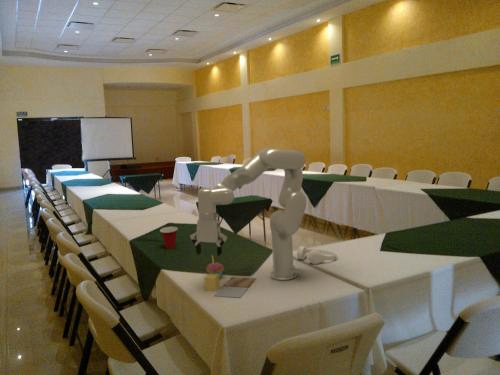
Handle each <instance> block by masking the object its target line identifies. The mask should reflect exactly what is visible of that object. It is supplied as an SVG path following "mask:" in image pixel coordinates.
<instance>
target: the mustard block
mask: <svg viewBox="0 0 500 375" xmlns="http://www.w3.org/2000/svg"><path fill="white" fill-rule="evenodd" d="M203 280H204V291H208V292H216V291H218V290H219V288H220V278H219V274H209V273H208V274H206V275H205V276H204V277H203Z"/></svg>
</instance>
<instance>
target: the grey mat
mask: <svg viewBox="0 0 500 375" xmlns="http://www.w3.org/2000/svg"><path fill="white" fill-rule="evenodd" d="M248 290H249V288H246V287H232V286H224V285H222V287H221V288H220V289H218V290H217V292H216V293H215V294H214V295H213V297H217V298H218V297H220V298H231V297H233V299H241V298H242V297H243V296H244V294H245V293H246V292H247V291H248Z"/></svg>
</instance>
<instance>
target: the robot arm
mask: <svg viewBox="0 0 500 375" xmlns="http://www.w3.org/2000/svg"><path fill="white" fill-rule="evenodd" d="M305 164H306V156H305V154H304V153H303V152H302V151H300V150H297V149H296V150H295V149H280V148H279V149H278V148H268V147H267V148H261V149H260V150H259V151H258V152H257V153H255V155H253V156H252V157H251V158H250V159H249V160H248V161H247V162H246V163H244V164H243V165H241V167H239V168H237V169H235V171H233V172H231V173H230V174H227V176H226V177H224V178H223V179H222V180H221V181H219V183H217V184H216V185H215V186H214V187H213V188H211V187H202V188H200V189H198V191H197V203H198V206H197V207H198V219H197V222H196V232H193V233H192V234H190V235H189V237H190V239H191V242H192V243H193V244H194V246H195V252H196V255H200V254H201V253H202V245H201V244H200V243H215V244H216V246H217V247H216V256H217V257H219V256H220V255H222V252H223V245H224V244H225V243H226V242H227V239H228V236H227V235H226V234H224V233H222V232H221V226H220V221H219V219H218V218H219V217H220V215H219V214H220V213H217V208H216V207H217V206H216V205H230V204H231V203H232V202H234V199H235V193H234V191H235V190H237V189H238V188H241V187H242V186H245V185H249V184H251V183H253V182H255V181H256V180H257V179H258V178H259V177H260V176H262V175H263V173H265V172H266V171H267V170H268V169H278V170H279V169H280V170H283V172H284V179H283V182H282V187H281V190H280V193H279V195H278V204H279V205H280V206H281V207H282V208H283V209H284V210H282V209H279V210H275V211H274V212H272V213H271V215H270V219H269V227H270V231H271V244H272V245H271V246H272V248H271V249H272V250H271V251H272V268H273V269H272V270H273V271H271V272H270V275H269V276H270V278H271V279H273V280H275V281H290V280H289V279H291V280H293V278H294V279H295V278H297V276H298V275H303V269H301V268H296V266H295V265H294V253H293V251H294V250H293V246H294V245H293V235H295V234H296V233H297V232H299V229H300V227H301V225H302V221H303V218H304V215H305V211H306V208H307V197H306V196H305V194H304V193H303V192H302V191H301V189H302V183H303V179H304V174H303V170H302V168H303V167H304V166H305ZM195 236H196V238H195ZM221 239H222V241H221Z"/></svg>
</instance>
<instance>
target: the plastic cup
mask: <svg viewBox="0 0 500 375" xmlns="http://www.w3.org/2000/svg"><path fill="white" fill-rule="evenodd" d="M178 228H179V227H176V226H166V227H163V228H161V229H160V230H159V232H160V233H161V236H162V239H163V243H164V247H165V249H167V250H169V249H170V250H171V249H174V248H176V243H177V234H178Z"/></svg>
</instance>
